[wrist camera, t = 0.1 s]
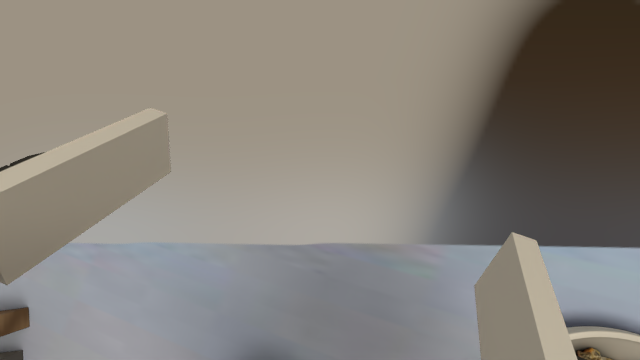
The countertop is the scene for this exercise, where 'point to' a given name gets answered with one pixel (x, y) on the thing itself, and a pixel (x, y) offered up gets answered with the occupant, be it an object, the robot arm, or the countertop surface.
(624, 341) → the bowl
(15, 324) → the end block
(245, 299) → the countertop surface
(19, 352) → the domino
